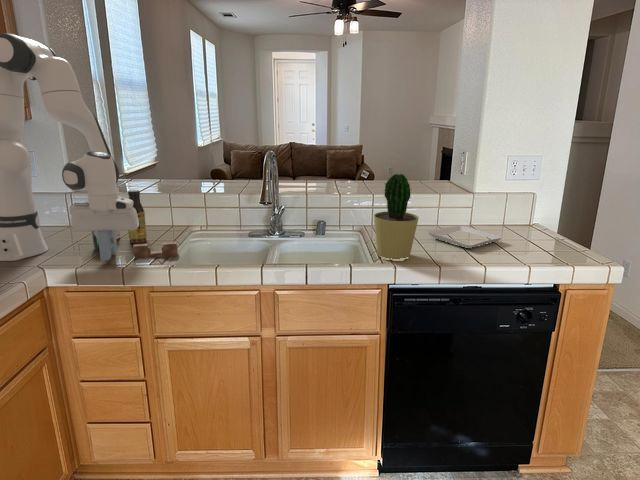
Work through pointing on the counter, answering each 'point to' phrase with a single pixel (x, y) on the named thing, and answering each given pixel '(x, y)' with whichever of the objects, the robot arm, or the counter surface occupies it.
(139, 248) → the notched block
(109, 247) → the blue gray rectangular block
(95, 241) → the supplement bottle
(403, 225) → the potted cactus
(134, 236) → the sauce bottle
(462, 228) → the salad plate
